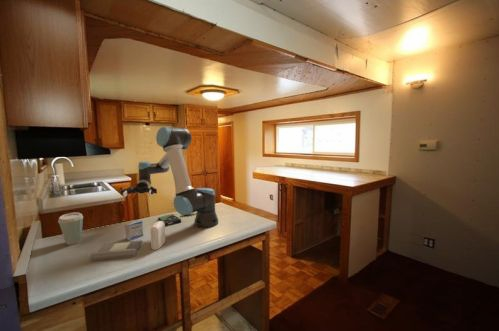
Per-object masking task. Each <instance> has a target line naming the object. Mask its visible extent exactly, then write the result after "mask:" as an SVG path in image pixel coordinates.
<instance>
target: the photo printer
mask: <svg viewBox="0 0 499 331" xmlns="http://www.w3.org/2000/svg"><path fill="white" fill-rule="evenodd" d="M165 243H166V226H165V223H164V222H163V221H158V220H157V221H155V222H154V223H153V225H152V226H151V227H150V245H151V248H150V249H152V250H153V251H155V250H159V249H160V248H161V247H163V245H164V244H165Z"/></svg>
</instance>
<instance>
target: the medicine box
mask: <svg viewBox="0 0 499 331" xmlns="http://www.w3.org/2000/svg"><path fill="white" fill-rule="evenodd" d="M124 233H125V234H124V235H125V240H128V241H132V240H133V241H134V240H135V239H137V238H140V237H142V236H144V226H143V220H141V219H136V220H133V221H131V222H126V223H124Z"/></svg>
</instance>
